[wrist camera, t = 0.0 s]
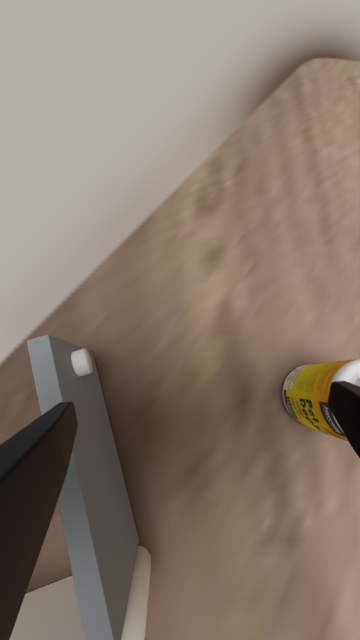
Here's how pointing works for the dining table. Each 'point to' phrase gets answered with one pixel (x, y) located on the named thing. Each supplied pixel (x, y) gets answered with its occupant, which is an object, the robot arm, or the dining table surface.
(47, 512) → the robot arm
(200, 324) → the dining table surface
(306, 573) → the dining table surface
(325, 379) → the supplement bottle
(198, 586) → the dining table surface
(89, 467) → the door
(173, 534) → the dining table surface
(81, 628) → the door frame
